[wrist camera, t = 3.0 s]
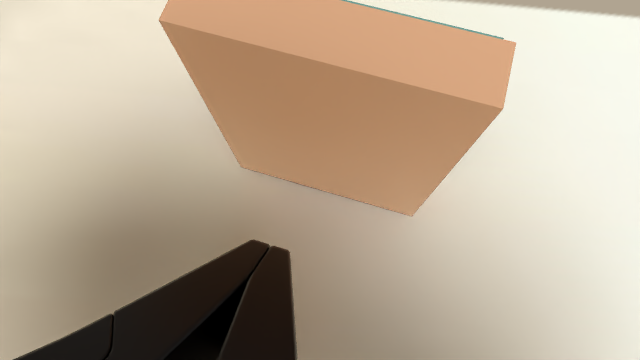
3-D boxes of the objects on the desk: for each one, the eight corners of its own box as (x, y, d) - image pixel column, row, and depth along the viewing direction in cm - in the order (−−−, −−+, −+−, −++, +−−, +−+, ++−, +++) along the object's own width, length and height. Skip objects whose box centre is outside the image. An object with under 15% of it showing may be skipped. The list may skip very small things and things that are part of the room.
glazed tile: (411, 216, 17) (503, 108, 8) (241, 167, 17) (158, 19, 9) (422, 176, 17) (517, 34, 9) (255, 129, 18) (190, -45, 9)
